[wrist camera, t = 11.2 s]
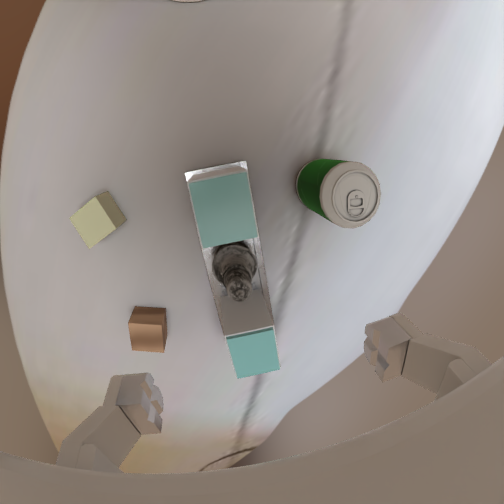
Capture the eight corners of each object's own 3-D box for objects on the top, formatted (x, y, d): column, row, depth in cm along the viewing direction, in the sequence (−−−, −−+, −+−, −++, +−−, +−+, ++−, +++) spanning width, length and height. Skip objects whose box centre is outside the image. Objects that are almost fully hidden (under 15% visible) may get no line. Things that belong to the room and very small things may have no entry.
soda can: (295, 212, 41) (326, 234, 30) (291, 159, 39) (323, 162, 28) (342, 207, 42) (385, 227, 31) (340, 157, 40) (385, 161, 28)
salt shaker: (256, 239, 41) (274, 273, 29) (250, 278, 42) (264, 323, 31) (214, 235, 40) (215, 268, 28) (209, 274, 41) (210, 319, 30)
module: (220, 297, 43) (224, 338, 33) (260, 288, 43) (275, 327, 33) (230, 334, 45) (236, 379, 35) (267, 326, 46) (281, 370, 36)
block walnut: (135, 306, 43) (128, 322, 38) (165, 307, 44) (161, 325, 39) (138, 332, 44) (132, 350, 40) (167, 334, 45) (163, 352, 40)
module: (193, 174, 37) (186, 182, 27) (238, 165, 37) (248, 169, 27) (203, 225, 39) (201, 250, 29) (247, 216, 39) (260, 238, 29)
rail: (185, 172, 37) (184, 173, 35) (244, 160, 38) (246, 160, 36) (224, 334, 46) (225, 341, 44) (272, 323, 47) (275, 331, 45)
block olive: (83, 210, 37) (69, 218, 32) (108, 191, 37) (95, 196, 32) (101, 238, 39) (89, 249, 34) (126, 219, 38) (116, 228, 34)
